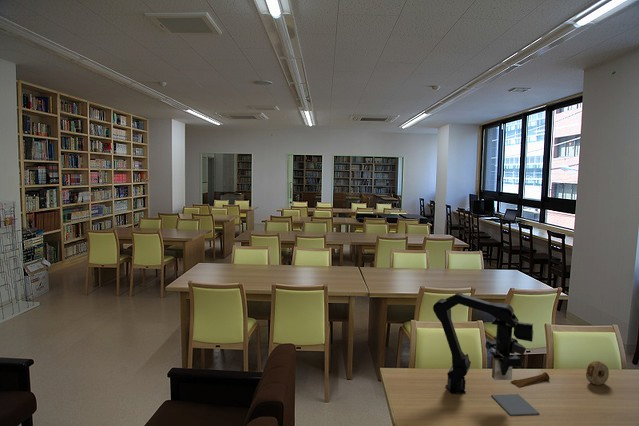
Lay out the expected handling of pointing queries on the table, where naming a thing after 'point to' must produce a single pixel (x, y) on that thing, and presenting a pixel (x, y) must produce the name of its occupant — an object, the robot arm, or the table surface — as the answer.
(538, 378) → the primitive tool
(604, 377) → the stone disc
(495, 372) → the tile
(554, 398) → the table surface
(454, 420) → the table surface
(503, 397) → the mat
